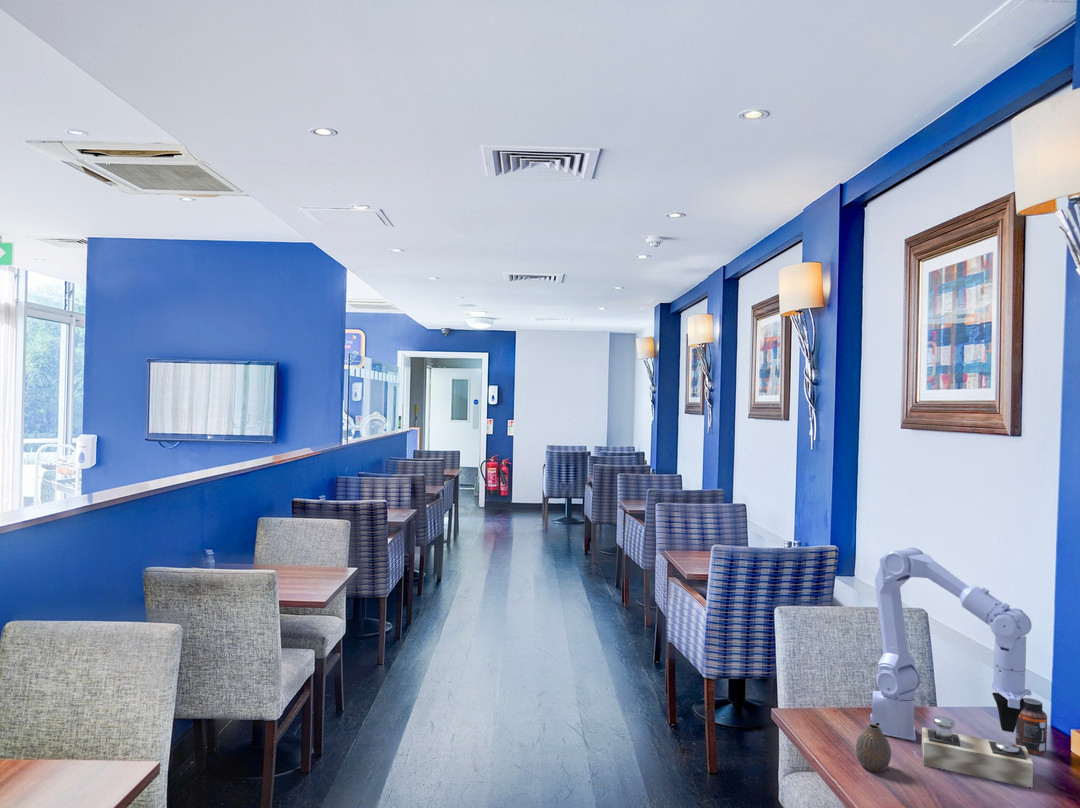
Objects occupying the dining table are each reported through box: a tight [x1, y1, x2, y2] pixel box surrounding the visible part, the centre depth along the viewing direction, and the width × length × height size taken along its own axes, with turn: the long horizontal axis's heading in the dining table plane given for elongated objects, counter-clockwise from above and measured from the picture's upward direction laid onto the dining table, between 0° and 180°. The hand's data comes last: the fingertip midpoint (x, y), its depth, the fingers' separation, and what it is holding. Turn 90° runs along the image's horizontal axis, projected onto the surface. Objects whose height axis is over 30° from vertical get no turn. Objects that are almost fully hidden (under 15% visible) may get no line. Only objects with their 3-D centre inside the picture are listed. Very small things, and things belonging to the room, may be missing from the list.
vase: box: [855, 723, 892, 772], centre depth 159 cm, size 7×7×9 cm
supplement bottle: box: [1015, 697, 1048, 756], centre depth 171 cm, size 6×6×11 cm
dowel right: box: [996, 740, 1019, 754], centre depth 158 cm, size 4×4×5 cm
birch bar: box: [921, 726, 1034, 789], centre depth 161 cm, size 20×9×5 cm, turn 65°
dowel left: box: [932, 715, 956, 741], centre depth 163 cm, size 4×4×5 cm
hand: (1007, 730), depth 158 cm, fingers closed
